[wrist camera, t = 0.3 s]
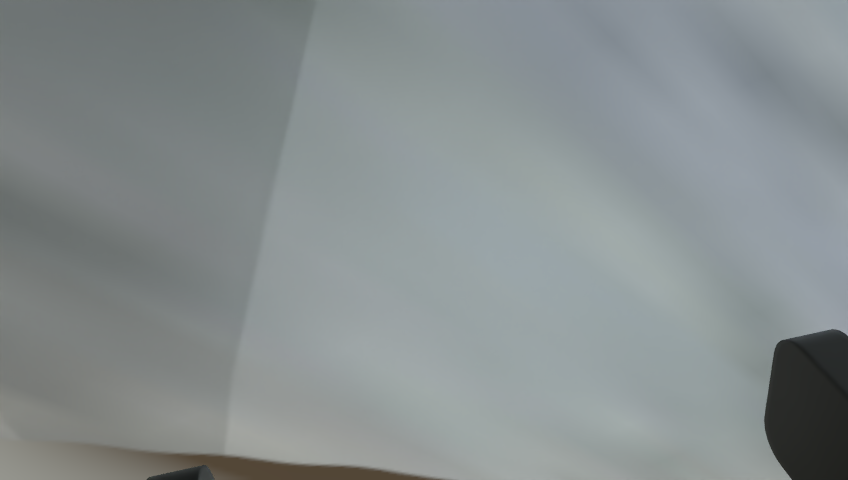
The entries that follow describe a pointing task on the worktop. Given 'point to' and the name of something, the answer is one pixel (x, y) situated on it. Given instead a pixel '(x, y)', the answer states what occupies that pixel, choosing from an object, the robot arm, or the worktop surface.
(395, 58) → the worktop surface
